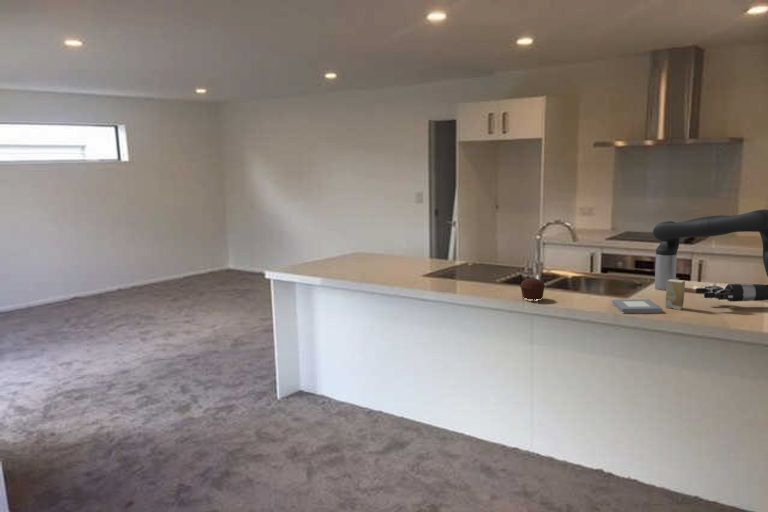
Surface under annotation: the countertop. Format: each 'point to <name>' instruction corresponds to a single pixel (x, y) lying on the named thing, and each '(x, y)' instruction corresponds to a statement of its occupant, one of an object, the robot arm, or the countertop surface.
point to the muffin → (532, 288)
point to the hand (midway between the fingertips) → (700, 293)
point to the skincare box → (675, 294)
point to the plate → (637, 306)
